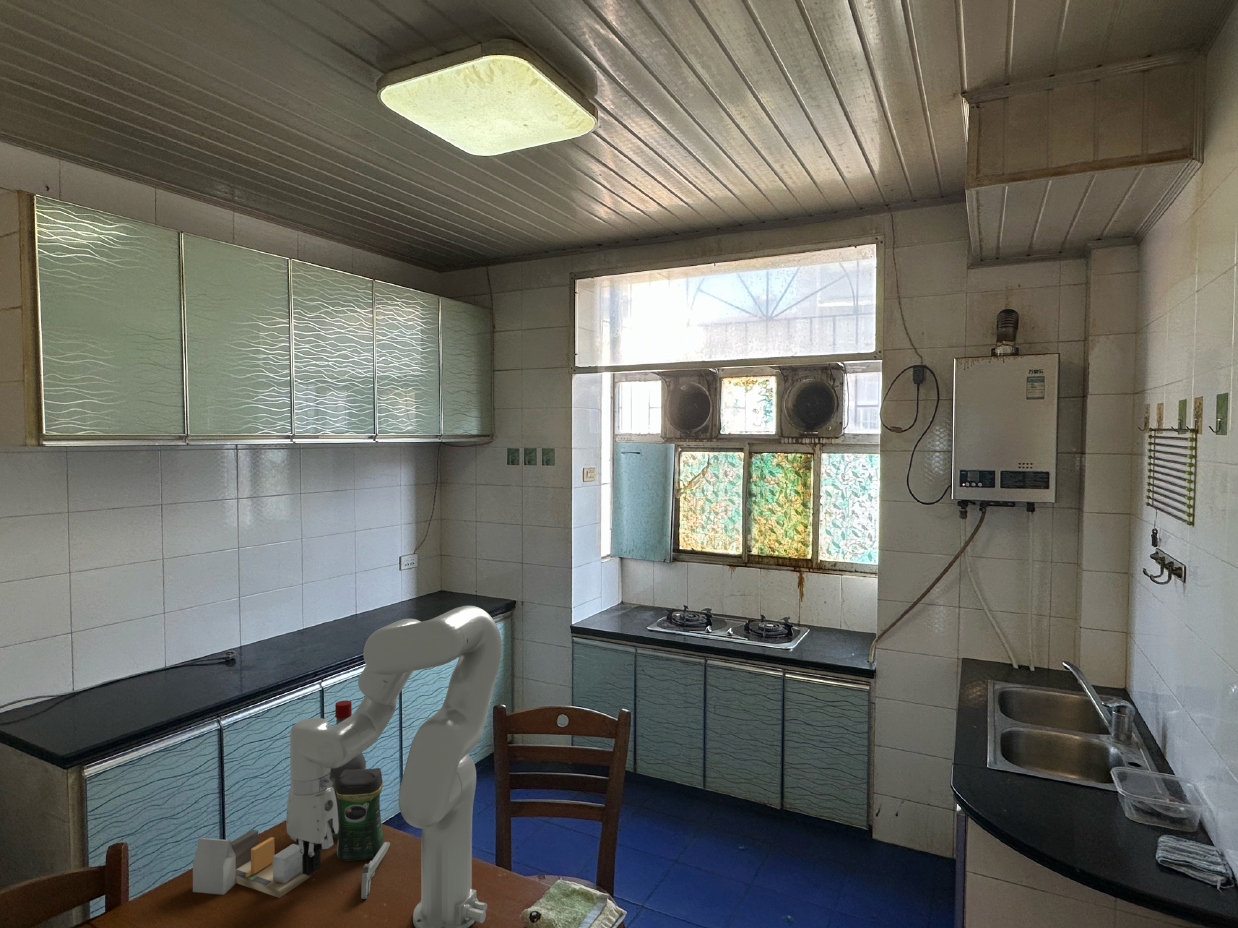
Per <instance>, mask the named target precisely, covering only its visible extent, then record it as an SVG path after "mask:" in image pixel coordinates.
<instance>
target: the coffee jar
mask: <svg viewBox="0 0 1238 928" xmlns="http://www.w3.org/2000/svg"><path fill="white" fill-rule="evenodd" d="M383 785H384V782H383V775H382V770H381V768H380V767H376V768H366V769H357V770H347V769H345V770H344V771H343V772H342V773H341V775H340V777H339V779H338V786H337V792H336V793H337V798H338V800H339V804H340V821H339V833H338V838H337V844H336V845H337V846H336V856H337V858H338V859H339V860H341V861H347V862H349V861H350V862H353V861H363V860H370V859H374V857H375V856H376V854H377V853H378V851H379V850H380V848H381V847H382V845H383V844H384V834H383V833H384V832H383V825H382V817H381V816H382V815H381V805H380V804H381V803H380V801H381V800H380V799H381V797H380V796H381V793H382V791H383V787H384V786H383Z"/></svg>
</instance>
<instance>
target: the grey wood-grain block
mask: <svg viewBox="0 0 1238 928" xmlns="http://www.w3.org/2000/svg"><path fill="white" fill-rule="evenodd" d="M302 855H303V854H301V853H300V850H299V845H298V844H297V843H296V844H295V843H292V844H290V845H289V846H287V847H286V848H284V849H282V850H280V851H279V852H278V853H276V854H275V855H274V856H273V880H274V881H277V882H280V883H283V884H284V883H286V882H287V881H289V880H290V879H292V878H293V877H295V876H296V875H298V874H299V873H301V872H302Z"/></svg>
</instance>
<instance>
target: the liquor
mask: <svg viewBox="0 0 1238 928" xmlns="http://www.w3.org/2000/svg"><path fill="white" fill-rule="evenodd" d="M352 702H353V701H352V700H347V699H346V700H339V701H337V702H335V705H334V706H335V708H334V709H335V710H334V711H335V713H334V714H335V715H334V717H335V718H336V723H335V725H337V724H339V723H340V722H342V721H344V720H345V719H347V718H349V717H350V716H352V715H353V714H352V709H353V708H352ZM345 769H347V770H357V769H367V761H366V759H365V755H364V754H363V752H362V753H360V754H359V755H357V756H356V757H355V758H354V759H352V760H351V761H349V762H348V763H346V764H345V765H343V766H341V767H339V768H331V781H332V782H333V784H332V786H331V787H333V788H334V791H335V796H336V801H337V809H338V825H339V821H340V804H339V800H338V798H337V793H336V792H337V786H338V779H339V777H340V775H341V773H342V772H343V771H344V770H345ZM338 833H339V829H338ZM338 833H337V834H336V835H332V838H333V839H334V840H335V839H338Z"/></svg>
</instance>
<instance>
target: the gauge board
mask: <svg viewBox="0 0 1238 928" xmlns="http://www.w3.org/2000/svg"><path fill="white" fill-rule="evenodd" d="M230 842H231V846H232V849H233V851H234V853H235V856H236V884H238V885H240V886H244V887H247V888H249V889H252V890H256V891H259V892H261V893H264V894H266V895H270V896H272V897H275V898H278V899H280V898H282V897H283V896H285V895H287V893H289V892H291V891H292V890H293V889H295V888H297V887H298V886H299V885H301V884H302V883H304V882H305V881H307V880H308V879H309V878H311V877H312V874H311V875H310V876H308V875H305V874H303V873H302V872H301V873H299V874H298V875H296V876H295V877H293V878H292V879H290V880H289V881H287V882H286V883H284V884H283V883H280V882H277V881H274V880H273V863H271V864H269V865H268V866H266V867H265V868H263V869H261V870H260V871H258V872H257V873H255V874H252V875H250V876H249V877H245V874H247V873H249V872H250V871H251V849H252V848H254V847H255V846H257V845H259V830H256V829H250V830H249V831H248V832H246V833H244V834H243V835H240V836H239V837H237V838H235V839H233V840H231V841H230Z"/></svg>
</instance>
